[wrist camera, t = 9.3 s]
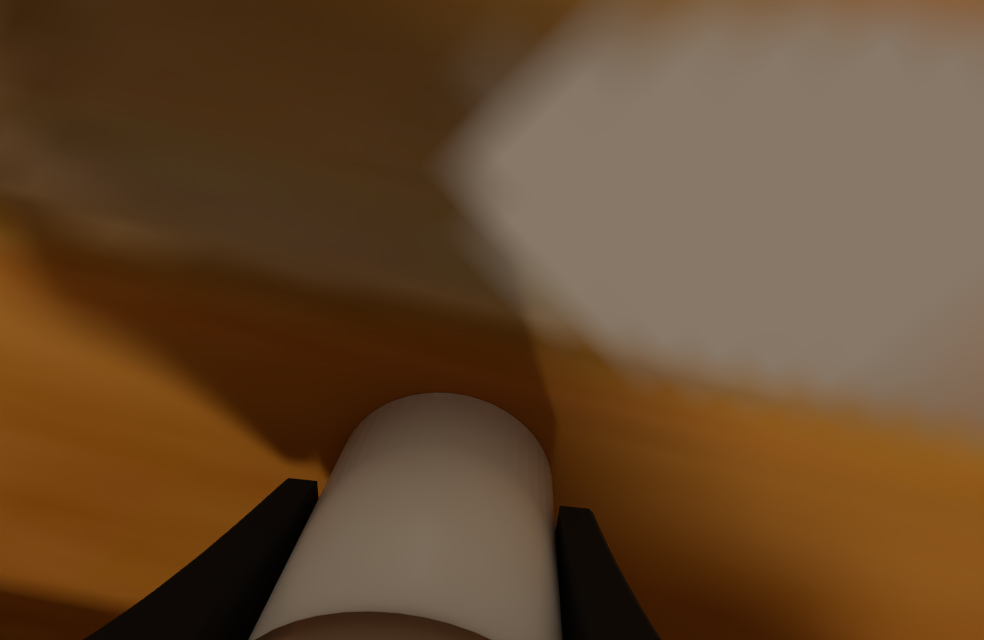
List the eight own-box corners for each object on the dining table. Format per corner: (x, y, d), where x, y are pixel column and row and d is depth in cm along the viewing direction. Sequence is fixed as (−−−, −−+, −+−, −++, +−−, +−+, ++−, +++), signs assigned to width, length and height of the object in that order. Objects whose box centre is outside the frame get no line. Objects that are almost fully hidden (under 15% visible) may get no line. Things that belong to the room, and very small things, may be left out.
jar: (570, 400, 12) (611, 685, 6) (542, 574, 14) (554, 901, 8) (331, 377, 12) (162, 636, 6) (340, 553, 14) (218, 862, 8)
